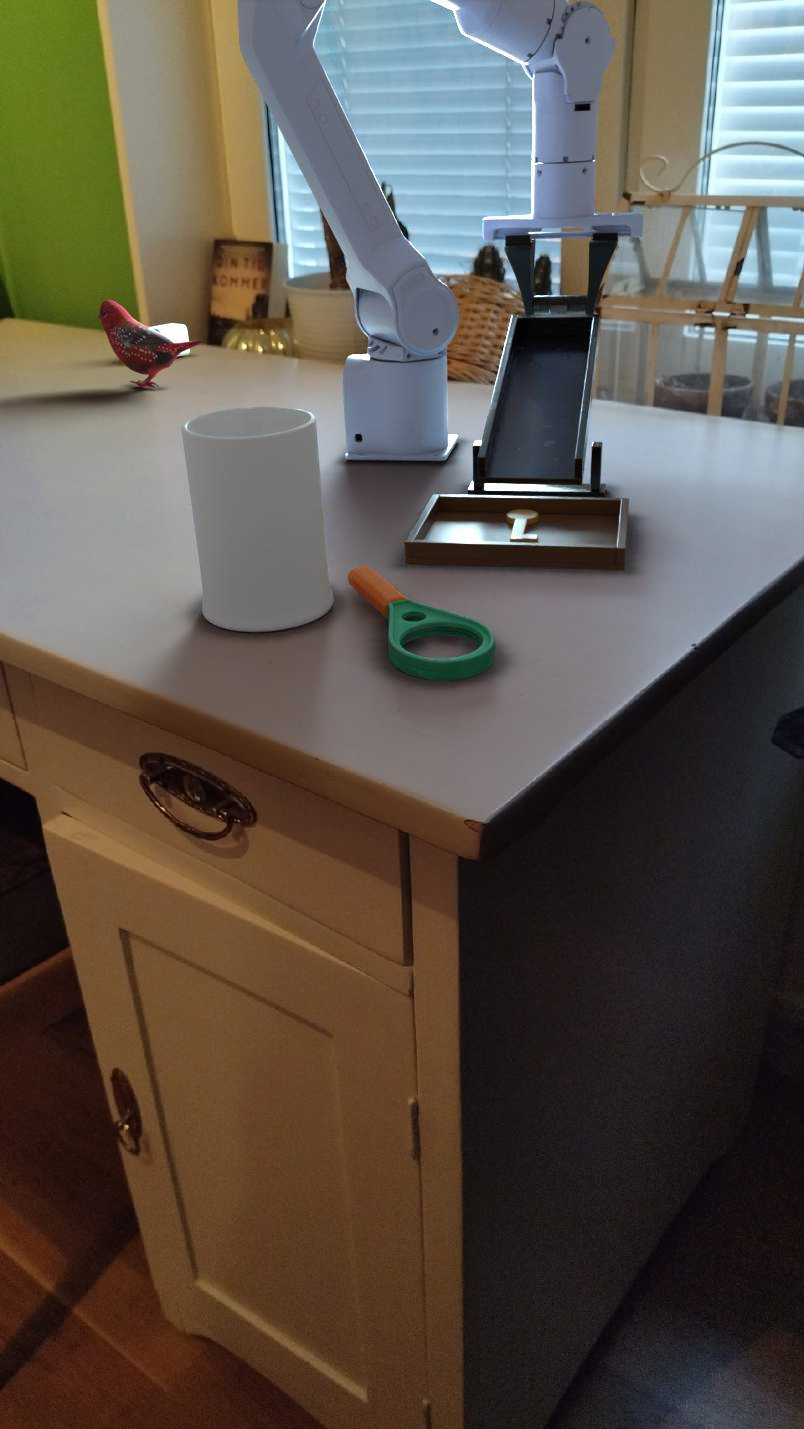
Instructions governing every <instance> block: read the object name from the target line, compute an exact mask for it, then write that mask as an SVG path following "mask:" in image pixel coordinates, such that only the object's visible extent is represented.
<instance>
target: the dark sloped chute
mask: <svg viewBox="0 0 804 1429" xmlns="http://www.w3.org/2000/svg"><path fill="white" fill-rule="evenodd" d="M586 301H587V294H576V295H575V294H573V295H572V294H571V295H567V294H566V295H564V294H563V295H535V296H534V298H533V313H534V314H535V315H525V314H512V315H511V318H510V322H509V326H508V330H507V334H506V339H505V342H504V347H503V351H502V355H501V358H500V363H499V367H498V371H497V376H496V380H495V383H494V388H493V392H492V396H491V400H490V404H489V408H488V413H487V416H486V421H485V425H484V429H483V432H482V437H481V440H480V441H481V445H480V449H479V454H478V475H479V484H526V485H582V484H584V473H585V464H586V457H587V449H588V441H589V440H588V439H589V432H590V422H591V415H592V414H591V413H592V406H593V398H594V389H595V380H596V372H597V364H598V354H599V347H600V336H601V334H600V333H601V313H594V314H585V310H586Z"/></svg>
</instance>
